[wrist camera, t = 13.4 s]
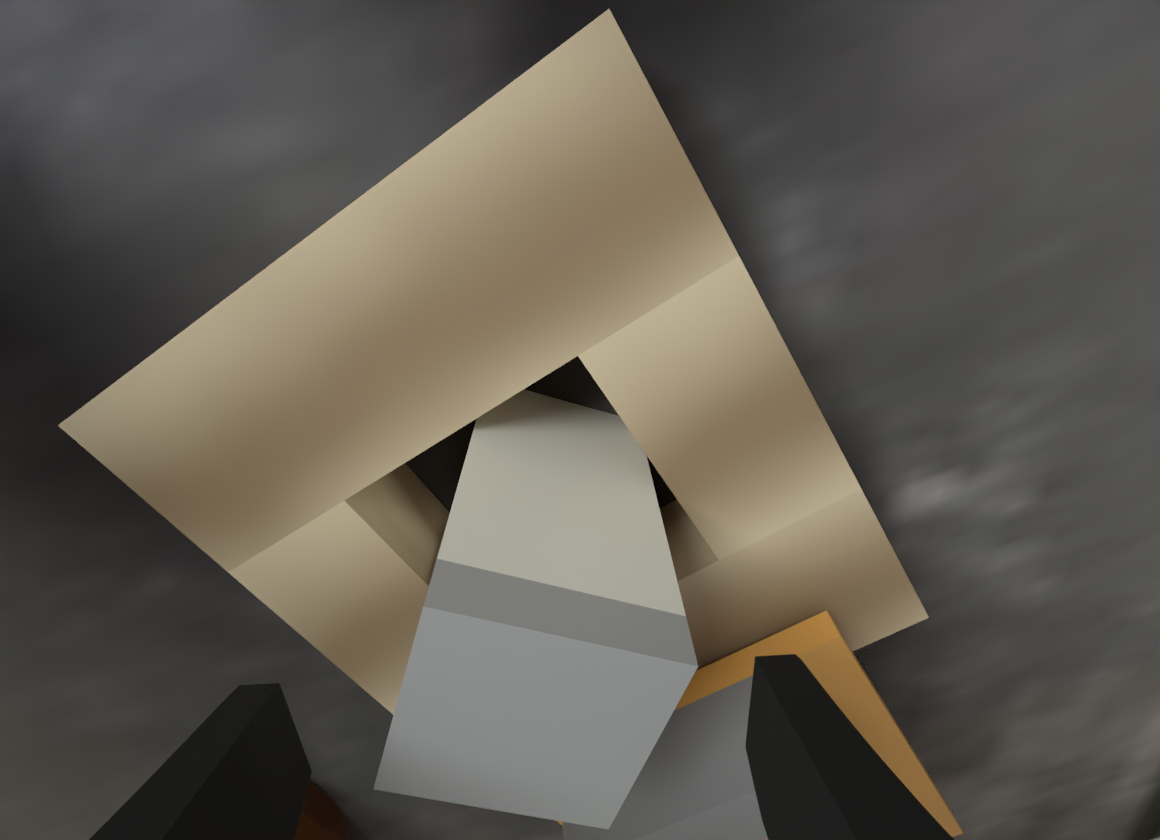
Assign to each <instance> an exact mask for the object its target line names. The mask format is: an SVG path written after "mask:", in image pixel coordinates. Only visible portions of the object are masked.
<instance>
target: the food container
mask: <svg viewBox="0 0 1160 840" xmlns="http://www.w3.org/2000/svg"><path fill="white" fill-rule="evenodd" d="M294 840H350V832H349V827H348V823H347V821H346V819H345V817H344V815H343V812H342V811H341V810H340V808H339V807H338V806H337V804H336V803H335V802H334V800H333V799H332V798H330V797H329V796H328V795H327V794H326V793H325V792H324V791H323V790H322V789H321V788H320V787H318V786H317V785H315V784H314V783H313V782H311V781H310V780H309V784H308V788H307V792H306V796H305V800H304V804H303V808H302V812H301V816H300V819H299V823H298V826H297V830H296V834H295V837H294Z"/></svg>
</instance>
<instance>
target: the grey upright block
mask: <svg viewBox="0 0 1160 840" xmlns="http://www.w3.org/2000/svg"><path fill="white" fill-rule="evenodd" d="M697 668H698V663H697V659H696V655H695V651H694V647H693V643H692V639H691V635H690V631H689V627H688V623H687V619H686V614H685V610H684V606H683V602H682V598H681V594H680V590H679V586H678V582H677V578H676V574H675V570H674V566H673V562H672V557H671V553H670V549H669V545H668V541H667V537H666V533H665V529H664V525H663V521H662V517H661V513H660V509H659V505H658V500H657V496H656V492H655V488H654V484H653V480H652V476H651V472H650V468H649V464H648V460H647V456H646V454H645V452H644V451H643V449H642V448H641V447H640V445H639V444H638V442H637V441H636V439H635V438H634V436H633V435H632V434H631V432H630V431H629V429H628V428H627V426H626V425H625V423H624V422H623V421H622V419H621V418H620V416H617V415H614V414H610V413H607V412H603V411H599V410H596V409H592V408H589V407H585V406H582V405H578V404H574V403H571V402H567V401H564V400H560V399H557V398H553V397H549V396H546V395H542V394H539V393H535V392H532V391H528V390H525V389H523V390H522V391H520V392H519V393H517V394H515V395H514V396H512V397H511V398H509V399H507V400H506V401H504V402H503V403H501V404H499V405H498V406H496V407H494V408H493V409H491V410H490V411H488V412H486V413H485V414H483V415H482V416H480V417H478V418H477V419H476V422H475V426H474V429H473V433H472V437H471V440H470V444H469V447H468V451H467V454H466V458H465V461H464V465H463V468H462V472H461V475H460V479H459V482H458V486H457V489H456V493H455V496H454V500H453V503H452V507H451V510H450V514H449V518H448V521H447V525H446V528H445V532H444V535H443V539H442V542H441V546H440V549H439V553H438V556H437V560H436V563H435V567H434V570H433V574H432V577H431V581H430V584H429V588H428V591H427V595H426V598H425V602H424V606H423V609H422V613H421V616H420V620H419V624H418V627H417V631H416V635H415V638H414V642H413V646H412V649H411V653H410V657H409V660H408V664H407V668H406V671H405V675H404V679H403V682H402V686H401V690H400V693H399V697H398V701H397V704H396V708H395V712H394V715H393V719H392V723H391V726H390V730H389V734H388V737H387V741H386V745H385V748H384V752H383V756H382V759H381V763H380V767H379V770H378V774H377V778H376V781H375V785H374V790H380V791H386V792H392V793H398V794H404V795H409V796H415V797H421V798H427V799H433V800H439V801H445V802H451V803H456V804H462V805H468V806H474V807H480V808H486V809H492V810H497V811H503V812H509V813H515V814H521V815H527V816H533V817H538V818H544V819H550V820H556V821H562V822H568V823H574V824H580V825H585V826H591V827H597V828H603V829H609V828H610V826H611V824H612V822H613V820H614V819H615V817H616V815H617V813H618V811H619V810H620V808H621V806H622V804H623V802H624V800H625V799H626V797H627V795H628V793H629V791H630V790H631V788H632V786H633V784H634V782H635V780H636V779H637V777H638V775H639V773H640V771H641V770H642V768H643V766H644V764H645V762H646V760H647V759H648V757H649V755H650V753H651V751H652V750H653V748H654V746H655V744H656V742H657V741H658V739H659V737H660V735H661V733H662V731H663V730H664V728H665V726H666V724H667V722H668V721H669V719H670V717H671V715H672V713H673V711H674V710H675V708H676V706H677V704H678V702H679V701H680V699H681V697H682V695H683V693H684V691H685V690H686V688H687V686H688V684H689V682H690V681H691V679H692V677H693V675H694V673H695V671H696V670H697Z"/></svg>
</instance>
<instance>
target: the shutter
mask: <svg viewBox="0 0 1160 840" xmlns="http://www.w3.org/2000/svg"><path fill="white" fill-rule="evenodd" d="M788 654H796V655H797V656H798V657H799V658H800V659H801V660H802V661H803V662H804V664H805V665H806V666H807V667H808V669H809V670H810V671H811V673H812V674H813V675H814V676H815V678H816V679H817V680H818V682H819V683H820V684H821V686H822V687H823V688H824V689H825V691H826V692H827V693H828V694H829V696H830V697H831V698H832V699H833V701H834V702H835V703H836V704H837V706H838V707H839V708H840V709H841V711H842V712H843V713H844V714H845V716H846V717H847V718H848V719H849V720H850V722H851V723H852V724H853V725H854V727H855V728H856V729H857V730H858V731H859V733H860V734H861V735H862V736H863V738H864V739H865V740H866V741H867V742H868V743H869V745H870V746H871V747H872V748H873V749H874V751H875V752H876V753H877V754H878V755H879V756H880V758H881V759H882V760H883V761H884V762H885V763H886V764H887V766H888V767H889V768H890V769H891V770H892V771H893V772H894V774H895V775H896V776H897V777H898V778H899V779H900V780H901V782H902V783H903V784H904V785H905V786H906V787H907V788H908V789H909V791H910V792H911V793H912V794H913V795H914V796H915V797H916V799H917V800H918V801H919V802H920V803H921V804H922V805H923V806H924V808H925V809H926V810H927V811H928V812H929V813H930V814H931V815H932V816H933V817H934V818H935V820H936V821H937V822H938V823H939V824H940V825H941V826H942V827H943V828H944V829H945V830H946V831H947V833H948V834H949V835H950V836H951V837H954V836H957V835H960V834H962V833H963V832H962V830H961V828H960V826H959V825H958V823H957V821H956V819H955V817H954V816H953V814H952V812H951V810H950V809H949V807H948V805H947V803H946V802H945V800H944V798H943V797H942V795H941V794H940V792H939V790H938V789H937V787H936V786H935V784H934V782H933V781H932V779H931V778H930V776H929V774H928V773H927V771H926V769H925V768H924V766H923V765H922V763H921V761H920V760H919V758H918V757H917V755H916V753H915V752H914V750H913V749H912V747H911V745H910V744H909V742H908V740H907V739H906V737H905V736H904V734H903V732H902V731H901V729H900V728H899V726H898V724H897V723H896V721H895V719H894V718H893V716H892V715H891V713H890V711H889V710H888V708H887V707H886V705H885V703H884V702H883V700H882V699H881V697H880V695H879V694H878V692H877V690H876V689H875V687H874V686H873V684H872V682H871V681H870V679H869V678H868V676H867V674H866V673H865V671H864V670H863V668H862V666H861V665H860V663H859V661H858V660H857V658H856V657H855V655H854V653H853V652H852V650H851V649H850V647H849V645H848V644H847V642H846V641H845V639H844V637H843V636H842V634H841V632H840V631H839V629H838V628H837V626H836V624H835V623H834V621H833V620H832V618H831V616H830V615H829V613H828V611H827V610H826V611H824V612H822V613H820V614H818V615H815V616H813V617H811V618H809V619H807V620H805V621H802V622H800V623H798V624H796V625H794V626H792V627H789V628H787V629H785V630H783V631H781V632H779V633H777V634H774V635H772V636H770V637H768V638H766V639H764V640H761V641H759V642H757V643H755V644H753V645H751V646H748V647H746V648H744V649H742V650H740V651H738V652H736V653H733V654H731V655H729V656H727V657H725V658H723V659H720V660H718V661H716V662H714V663H712V664H710V665H708V666H705V667H703V668H701V669H699V670H697V671H695V673H694V675H693V677H692V679H691V681H690V682H689V684H688V686H687V688H686V690H685V691H684V693H683V695H682V697H681V699H680V701H679V702H678V704H677V706H676V708H675V710H674V711H673V713H672V715H671V717H670V719H669V721H668V722H667V724H666V726H665V728H664V730H663V731H662V733H661V735H660V737H659V739H658V741H657V742H656V744H655V746H654V748H653V750H652V751H651V753H650V755H649V757H648V759H647V760H646V762H645V764H644V766H643V768H642V770H641V771H640V773H639V775H638V777H637V779H636V780H635V782H634V784H633V786H632V788H631V790H630V791H629V793H628V795H627V797H626V799H625V800H624V802H623V804H622V806H621V808H620V810H619V811H618V813H617V815H616V817H615V819H614V820H613V822H612V824H611V826H610V828H609V829H603V828H597V827H591V826H585V825H580V824H574V823H568V822H562V821H557V822H558V823H559V824H561V825H562V826H563V840H768V837H767V834H766V831H765V828H764V825H763V821H762V818H761V814H760V809H759V805H758V801H757V797H756V792H755V788H754V784H753V779H752V775H751V770H750V766H749V761H748V756H747V752H746V747H745V744H746V735H747V726H748V717H749V707H750V698H751V689H752V680H753V670H754V661H755V656H770V655H788Z"/></svg>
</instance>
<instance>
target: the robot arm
mask: <svg viewBox="0 0 1160 840" xmlns="http://www.w3.org/2000/svg"><path fill="white" fill-rule="evenodd" d="M745 747H746V752H747V756H748V761H749V766H750V770H751V775H752V779H753V784H754V788H755V792H756V797H757V801H758V805H759V809H760V814H761V818H762V821H763V825H764V828H765V831H766V834H767V837H768V840H954V839H953V838H952V837H951V836H950V835H949V834H948V833H947V831H946V830H945V829H944V828H943V827H942V826H941V825H940V824H939V823H938V822H937V821H936V820H935V818H934V817H933V816H932V815H931V814H930V813H929V812H928V811H927V810H926V809H925V808H924V806H923V805H922V804H921V803H920V802H919V801H918V800H917V799H916V797H915V796H914V795H913V794H912V793H911V792H910V791H909V789H908V788H907V787H906V786H905V785H904V784H903V783H902V782H901V780H900V779H899V778H898V777H897V776H896V775H895V774H894V772H893V771H892V770H891V769H890V768H889V767H888V766H887V764H886V763H885V762H884V761H883V760H882V759H881V758H880V756H879V755H878V754H877V753H876V752H875V751H874V749H873V748H872V747H871V746H870V745H869V743H868V742H867V741H866V740H865V739H864V738H863V736H862V735H861V734H860V733H859V731H858V730H857V729H856V728H855V727H854V725H853V724H852V723H851V722H850V720H849V719H848V718H847V717H846V716H845V714H844V713H843V712H842V711H841V709H840V708H839V707H838V706H837V704H836V703H835V702H834V701H833V699H832V698H831V697H830V696H829V694H828V693H827V692H826V691H825V689H824V688H823V687H822V686H821V684H820V683H819V682H818V680H817V679H816V678H815V676H814V675H813V674H812V673H811V671H810V670H809V669H808V667H807V666H806V665H805V664H804V662H803V661H802V660H801V659H800V658H799V657H798V656H797V655H796V654H788V655H770V656H755V661H754V670H753V680H752V689H751V698H750V707H749V717H748V726H747V735H746V744H745ZM311 772H312V771H311V768H310V766H309V763H308V760H307V757H306V755H305V752H304V749H303V747H302V744H301V741H300V738H299V736H298V733H297V730H296V727H295V725H294V722H293V719H292V717H291V714H290V711H289V708H288V706H287V703H286V700H285V698H284V695H283V692H282V689H281V687H280V684H279V683H275V684H258V685H240V686H238V687H237V688H236V689H235V690H234V691H233V692H232V693H231V694H230V695H229V696H228V697H227V698H226V699H225V700H224V701H223V702H222V703H221V704H220V706H219V707H218V708H217V709H216V710H215V711H214V712H213V713H212V714H211V715H210V716H209V717H208V718H207V719H206V720H205V721H204V722H203V723H202V724H201V725H200V726H199V727H198V728H197V729H196V730H195V731H194V733H193V734H192V735H191V736H190V737H189V738H188V739H187V740H186V741H185V742H184V743H183V744H182V745H181V746H180V747H179V748H178V749H177V750H176V751H175V752H174V753H173V754H172V756H171V757H170V758H169V759H168V760H167V761H166V762H165V763H164V764H163V765H162V766H161V767H160V768H159V769H158V770H157V771H156V772H155V773H154V774H153V775H152V776H151V777H150V778H149V779H148V780H147V782H146V783H145V784H144V785H143V786H142V787H141V788H140V789H139V790H138V791H137V792H136V793H135V794H134V795H133V796H132V797H131V798H130V799H129V800H128V801H127V802H126V803H125V804H124V805H123V806H122V807H121V808H120V809H119V810H118V811H117V812H116V813H115V814H114V815H113V816H112V817H111V818H110V819H109V820H108V821H107V822H106V823H105V824H104V825H103V826H102V827H101V828H100V829H99V830H98V831H97V832H96V833H95V834H94V835H93V836H92V837H91V838H90V839H89V840H294V837H295V834H296V830H297V826H298V823H299V819H300V816H301V812H302V808H303V804H304V800H305V796H306V792H307V788H308V784H309V780H310V776H311Z"/></svg>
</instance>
